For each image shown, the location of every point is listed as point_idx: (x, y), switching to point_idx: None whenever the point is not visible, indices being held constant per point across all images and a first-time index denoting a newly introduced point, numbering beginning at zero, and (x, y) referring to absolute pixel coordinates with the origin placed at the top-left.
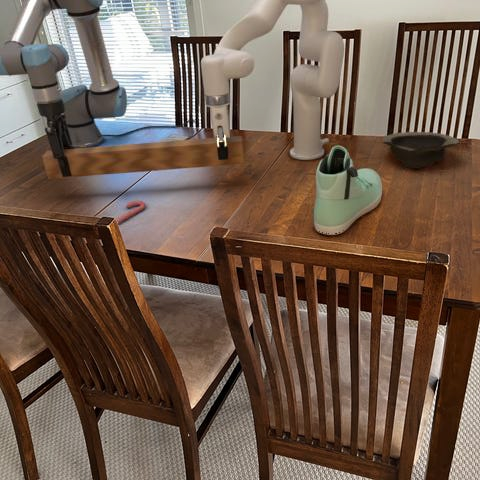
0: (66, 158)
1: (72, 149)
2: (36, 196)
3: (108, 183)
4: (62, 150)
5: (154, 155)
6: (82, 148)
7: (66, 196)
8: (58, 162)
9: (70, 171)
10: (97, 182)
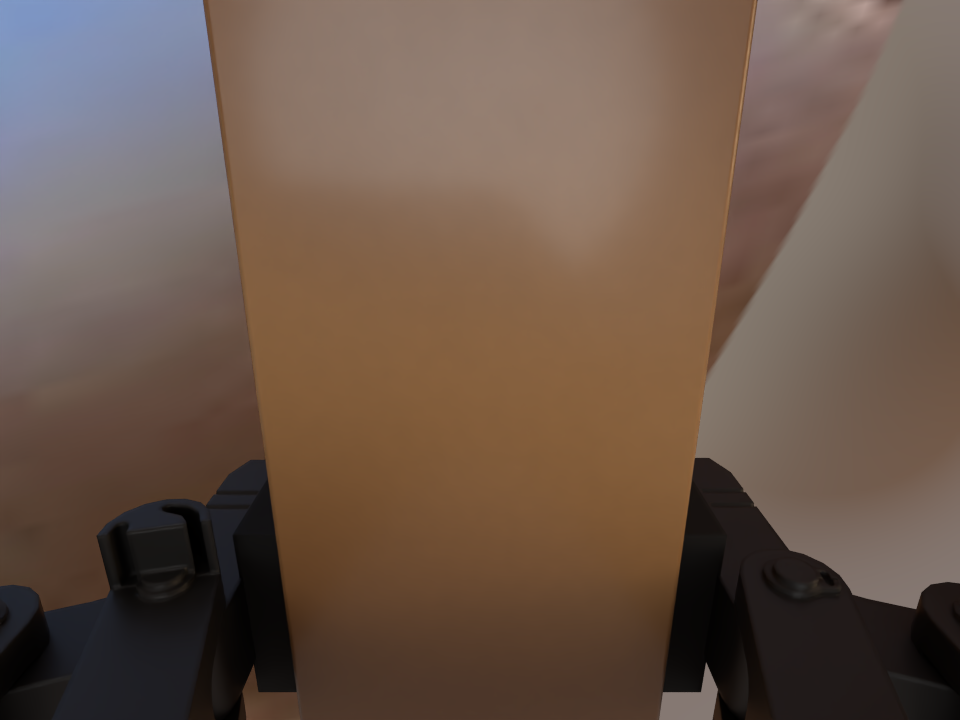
0: (692, 510)
1: (327, 495)
2: None
3: (203, 47)
4: (902, 716)
5: None
6: (284, 216)
7: None
8: None
9: None
10: (175, 182)
